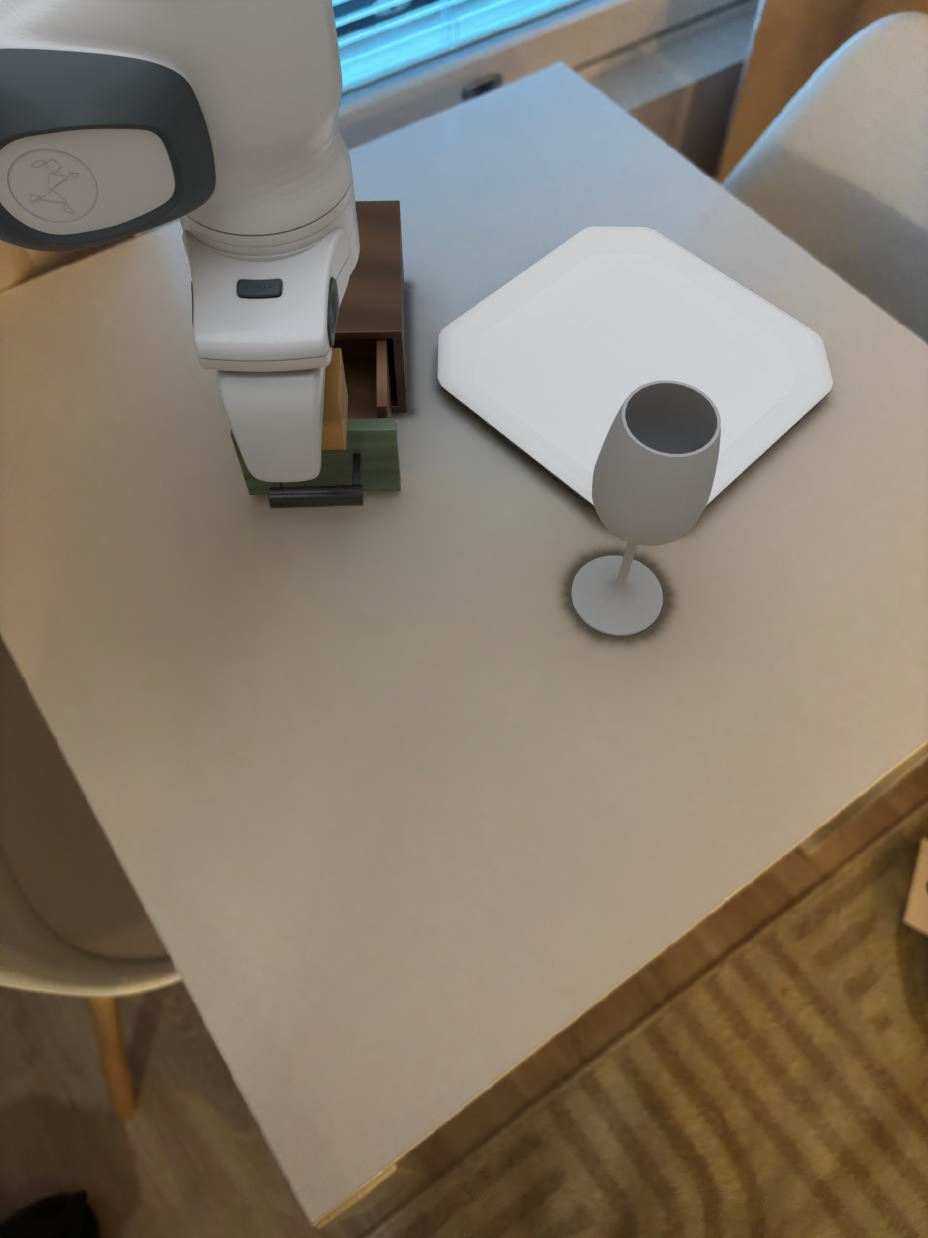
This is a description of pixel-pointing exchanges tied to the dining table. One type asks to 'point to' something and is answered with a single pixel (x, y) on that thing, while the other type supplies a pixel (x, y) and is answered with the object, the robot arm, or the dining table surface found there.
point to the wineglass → (647, 498)
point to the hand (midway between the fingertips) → (308, 407)
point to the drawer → (349, 439)
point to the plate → (628, 352)
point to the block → (335, 404)
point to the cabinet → (378, 290)
